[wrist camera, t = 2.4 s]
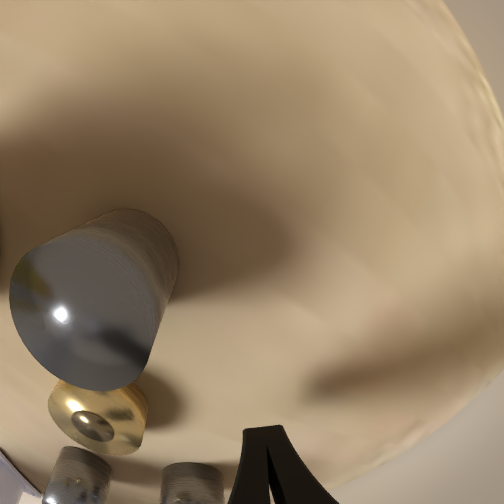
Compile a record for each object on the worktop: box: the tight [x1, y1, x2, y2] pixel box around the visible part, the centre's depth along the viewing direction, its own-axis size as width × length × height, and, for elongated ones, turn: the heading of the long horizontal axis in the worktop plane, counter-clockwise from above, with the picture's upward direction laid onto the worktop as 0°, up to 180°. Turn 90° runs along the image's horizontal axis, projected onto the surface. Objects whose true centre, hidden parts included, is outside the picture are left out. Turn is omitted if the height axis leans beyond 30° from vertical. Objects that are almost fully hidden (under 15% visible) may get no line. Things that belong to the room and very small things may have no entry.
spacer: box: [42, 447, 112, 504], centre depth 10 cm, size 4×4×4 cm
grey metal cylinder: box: [9, 209, 178, 391], centre depth 7 cm, size 4×4×4 cm
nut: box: [48, 379, 148, 455], centre depth 10 cm, size 4×4×2 cm
